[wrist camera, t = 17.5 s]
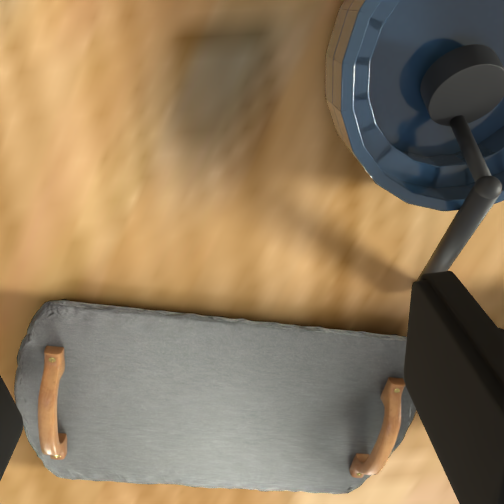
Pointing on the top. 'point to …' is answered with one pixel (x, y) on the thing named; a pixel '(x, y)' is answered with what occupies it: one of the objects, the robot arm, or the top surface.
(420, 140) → the bowl
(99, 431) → the serving tray
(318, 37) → the top surface
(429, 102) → the ladle
